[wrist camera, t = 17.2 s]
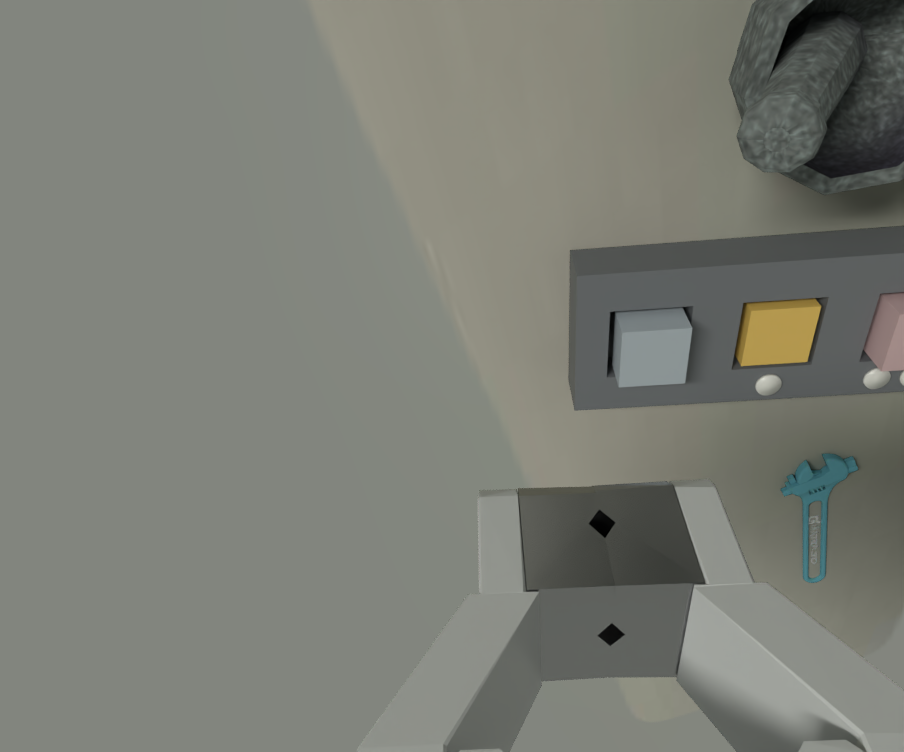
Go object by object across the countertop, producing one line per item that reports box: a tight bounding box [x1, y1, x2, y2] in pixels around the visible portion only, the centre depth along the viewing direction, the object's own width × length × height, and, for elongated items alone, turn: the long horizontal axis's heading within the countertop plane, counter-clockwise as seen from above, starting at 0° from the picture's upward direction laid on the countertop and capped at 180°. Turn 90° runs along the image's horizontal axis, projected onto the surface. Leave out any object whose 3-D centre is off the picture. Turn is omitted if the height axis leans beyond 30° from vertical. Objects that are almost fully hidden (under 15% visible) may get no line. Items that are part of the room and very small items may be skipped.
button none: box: [612, 307, 692, 387], centre depth 39 cm, size 4×4×2 cm
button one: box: [734, 298, 821, 366], centre depth 39 cm, size 4×4×2 cm
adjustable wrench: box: [781, 454, 858, 583], centre depth 51 cm, size 14×1×5 cm
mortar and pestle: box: [729, 0, 904, 195], centre depth 28 cm, size 11×9×12 cm
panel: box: [569, 226, 904, 410], centre depth 40 cm, size 22×9×3 cm, turn 95°
